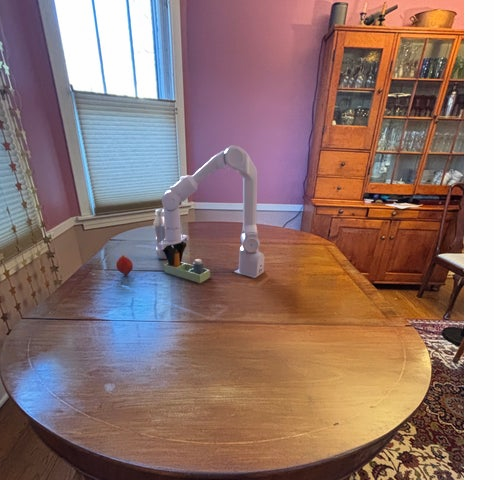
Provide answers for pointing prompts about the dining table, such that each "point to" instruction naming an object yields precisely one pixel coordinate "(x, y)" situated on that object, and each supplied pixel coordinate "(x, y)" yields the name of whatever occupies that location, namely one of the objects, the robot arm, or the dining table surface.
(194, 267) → the slate spice bottle
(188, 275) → the bottle holder
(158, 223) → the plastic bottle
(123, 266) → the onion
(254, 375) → the dining table surface
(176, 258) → the amber spice bottle
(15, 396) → the dining table surface
